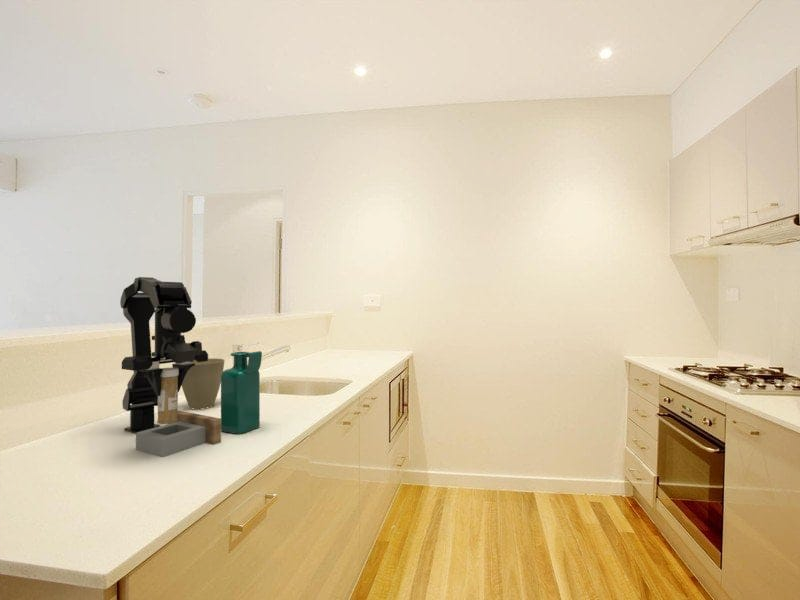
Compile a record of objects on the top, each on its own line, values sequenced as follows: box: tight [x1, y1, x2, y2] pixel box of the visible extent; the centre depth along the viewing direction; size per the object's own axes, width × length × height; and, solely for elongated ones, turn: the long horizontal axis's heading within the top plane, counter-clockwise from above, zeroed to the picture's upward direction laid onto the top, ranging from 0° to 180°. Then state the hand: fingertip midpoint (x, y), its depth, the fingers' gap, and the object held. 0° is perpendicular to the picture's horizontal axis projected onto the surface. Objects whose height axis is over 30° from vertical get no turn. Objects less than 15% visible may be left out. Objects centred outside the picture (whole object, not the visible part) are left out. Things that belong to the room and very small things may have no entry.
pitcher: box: [220, 350, 263, 435], centre depth 113 cm, size 10×8×22 cm
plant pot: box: [181, 357, 225, 410], centre depth 138 cm, size 15×15×16 cm
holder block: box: [135, 421, 206, 458], centre depth 99 cm, size 11×11×4 cm
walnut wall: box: [174, 409, 222, 445], centre depth 105 cm, size 18×2×6 cm, turn 62°
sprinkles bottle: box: [156, 367, 179, 425], centre depth 99 cm, size 5×5×14 cm
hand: (167, 393), depth 99 cm, fingers closed on sprinkles bottle, 4 cm apart
